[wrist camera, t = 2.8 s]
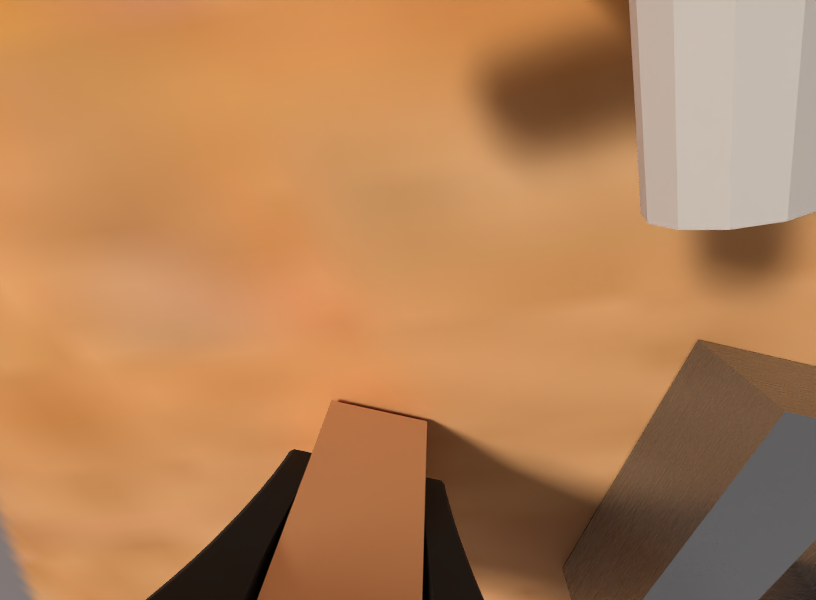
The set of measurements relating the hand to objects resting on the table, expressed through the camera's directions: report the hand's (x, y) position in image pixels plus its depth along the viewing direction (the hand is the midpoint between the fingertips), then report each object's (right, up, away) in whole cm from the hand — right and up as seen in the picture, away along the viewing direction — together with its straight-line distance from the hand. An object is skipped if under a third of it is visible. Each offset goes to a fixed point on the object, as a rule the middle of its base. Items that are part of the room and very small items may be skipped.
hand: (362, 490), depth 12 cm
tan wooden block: (0, +1, +2) cm, 2 cm away
